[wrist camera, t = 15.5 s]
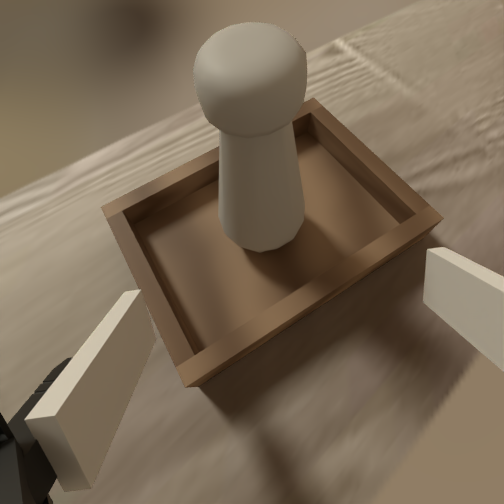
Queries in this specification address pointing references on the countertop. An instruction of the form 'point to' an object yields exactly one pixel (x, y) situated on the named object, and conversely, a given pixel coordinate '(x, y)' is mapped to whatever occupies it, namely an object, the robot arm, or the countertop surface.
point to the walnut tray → (268, 262)
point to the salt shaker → (255, 130)
